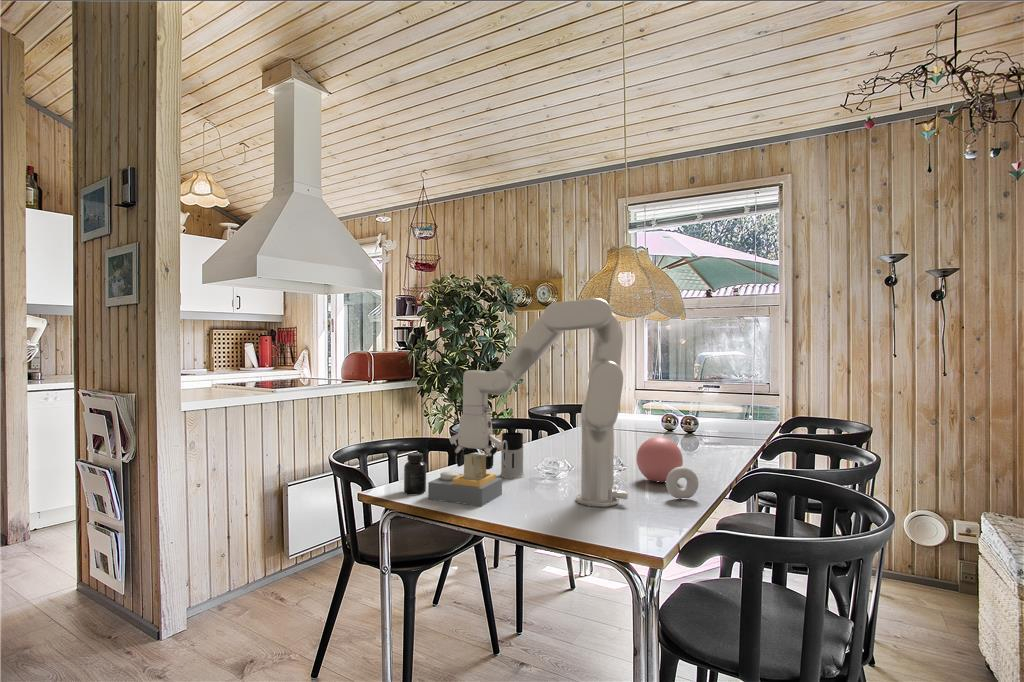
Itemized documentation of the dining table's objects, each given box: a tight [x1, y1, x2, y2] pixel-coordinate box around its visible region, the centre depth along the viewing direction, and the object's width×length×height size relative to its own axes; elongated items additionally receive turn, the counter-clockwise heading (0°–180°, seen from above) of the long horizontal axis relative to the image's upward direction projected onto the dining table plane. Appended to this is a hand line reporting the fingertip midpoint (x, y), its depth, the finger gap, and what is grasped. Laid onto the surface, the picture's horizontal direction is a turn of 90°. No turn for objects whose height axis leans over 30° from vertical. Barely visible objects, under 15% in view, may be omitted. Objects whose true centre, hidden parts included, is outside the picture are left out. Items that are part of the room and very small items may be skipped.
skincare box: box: [463, 452, 487, 481], centre depth 165 cm, size 6×4×12 cm
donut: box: [665, 466, 699, 499], centre depth 165 cm, size 10×4×10 cm, turn 94°
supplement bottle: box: [403, 452, 427, 495], centre depth 171 cm, size 7×7×12 cm
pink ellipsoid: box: [636, 436, 684, 483], centre depth 189 cm, size 15×20×15 cm
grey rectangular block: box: [427, 471, 503, 507], centre depth 166 cm, size 18×14×6 cm
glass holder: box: [499, 431, 525, 479], centre depth 192 cm, size 9×14×15 cm, turn 159°
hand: (474, 467), depth 165 cm, fingers open, 9 cm apart
